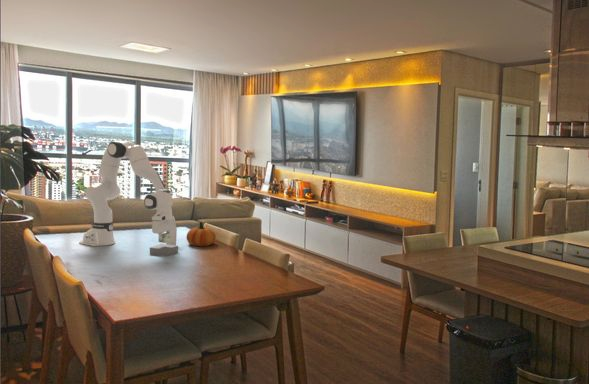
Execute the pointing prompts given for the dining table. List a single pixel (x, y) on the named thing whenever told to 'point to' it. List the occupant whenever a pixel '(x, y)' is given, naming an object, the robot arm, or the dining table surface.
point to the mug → (172, 237)
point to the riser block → (163, 249)
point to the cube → (165, 238)
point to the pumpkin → (201, 236)
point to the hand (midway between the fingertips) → (164, 238)
